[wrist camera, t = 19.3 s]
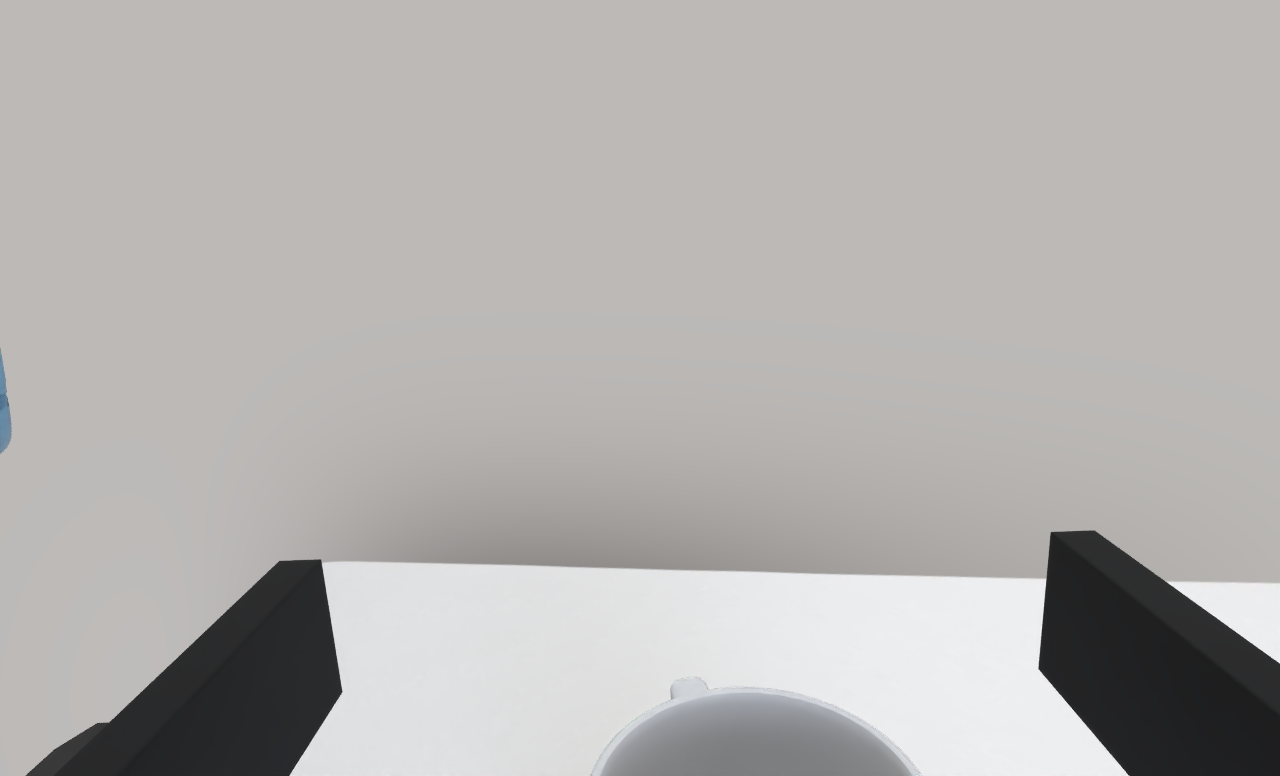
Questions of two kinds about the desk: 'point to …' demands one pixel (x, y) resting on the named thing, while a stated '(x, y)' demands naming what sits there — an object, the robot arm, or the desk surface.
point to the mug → (749, 737)
